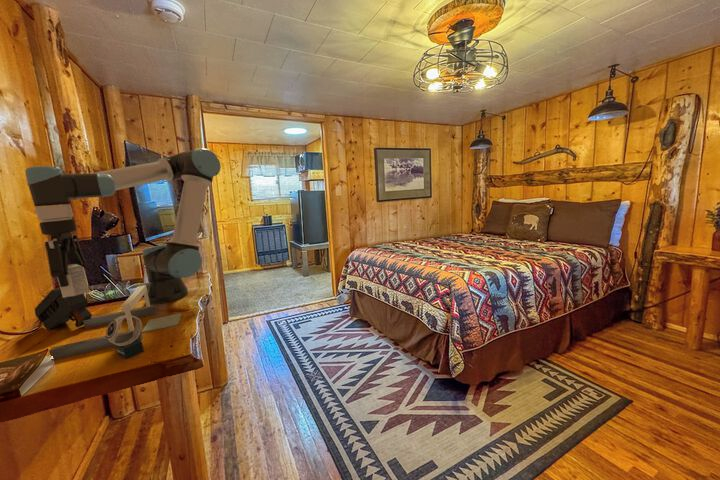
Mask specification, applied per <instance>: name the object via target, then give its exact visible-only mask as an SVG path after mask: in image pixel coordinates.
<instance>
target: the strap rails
mask: <svg viewBox="0 0 720 480" xmlns="http://www.w3.org/2000/svg"><path fill="white" fill-rule="evenodd" d="M130 313H131V315H132V316H135V317H137V318H139V319H140V318H144V317H149V316H153V315H158V308H157V305H156V304H153V305H150V306H149V307H146V306H144V307H137V308H132V310H130ZM123 315H125V312H123V311H122V310H121V311H117V312H113V313H112V312H111V313H107V314H102V315H97V316H91V318H88V319H86V320H84V321H83V323H84V325H83V327H84V329H90V328H95V327H100V326H104V325H109V323H110V322H111V321H112V320H115V319H116V318H117V317H120V316H123ZM133 319H134V320H136V319H135V318H133V317H132V320H133ZM124 321H127V319H126V318H124V319H123V322H124ZM142 331H143V330H141V333H140V335H139V337H138V338H137V340H140V341H142V340H143V338H144V335H143V333H142ZM133 333H134V331H130V332H129V330H126V331H122V332H120V333H119V335H118V336H117V337H116V340H115V341H114V342H115V343H120V342H123V341H125V340H128V339H130V338H132V337H133ZM113 347H115V344H113V343H111V342H110V341H109V340H108V339H107V338H106V335H103V336H100V337H94V338H90V339H86V340H85V339H84V340H80V341H76V342H71V343H67V344H61V345H57V346H53V347H52V348H50V349H49V350H48V352H49V353H48V354H49V356H50V355H51V356H53V358H54V359H56V360H60V359H64V358H68V357H73V356H77V355H82V354H86V353H91V352H94V351H99V350H103V349H108V348H113ZM51 356H50V357H51Z"/></svg>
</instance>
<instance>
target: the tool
mask: <svg viewBox="0 0 720 480" xmlns="http://www.w3.org/2000/svg"><path fill="white" fill-rule="evenodd" d="M88 305H89V303H88V299H87V297H85V295H84V294H80V295H76V296H69V297H63V296H62V293H61V289H60V287H57V288H54V289H51V290H50V291H49V292H48V294H47V295H46V296H44V297H43V299H42V300H41V301H40V302H39V304H37V305H36V307H34V315H35V317H36V318H37V319H38V320H39V322H40V323H42V325H43V327H44V328H45V329H46V330H49V331H50V330H52V329H55V328H56V327H60V326H62V325H64V324H67V323H68V322H69V321H71V322H75V323H74V326H75V327H76V328H80V327H82V326H84V323H83V321H84V320H86V319H88V318H91V317H93V315H92V313H91V312H90V311H89V310H88V308H86V306H88Z"/></svg>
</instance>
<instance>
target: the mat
mask: <svg viewBox="0 0 720 480" xmlns="http://www.w3.org/2000/svg"><path fill="white" fill-rule="evenodd" d="M182 315H183V314H182V313H176V314H175V313H174V314H171V315H167V316H162V317H156V318H151V319H148V321H147V323H146V325H145V326H144V328H143V330H142V334H143V333H147V332H151V331H156V330H161V329H165V328H170V327H174V326H178V325H179V323H180V320H181V318H182V317H181V316H182Z"/></svg>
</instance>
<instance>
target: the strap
mask: <svg viewBox="0 0 720 480" xmlns="http://www.w3.org/2000/svg"><path fill="white" fill-rule="evenodd" d="M149 289H150V288H149V282H143V283H139V285H138V287H137V288H136V289H135V290H134V292H132V294H131V295H130V296H129V297H128V298H127V299H126V300H125V301H124V302H123V303H122V304H121V306H120V307H121V309H122V310H121V311H123V312H125V315H131V313H130V310H132V309H134V307H135V306H136V305H137V303H139V301H140V300H141V298H143V297H144V298H143V299H144V301H145V307H149V306H151V303H150V302H149V297H148V292H147V291H148V290H149ZM126 319H127V320H126V323H127V328H128V331H129V332H130V331H134V330H135V326H134V322H133V319H132V317H128V318H126Z"/></svg>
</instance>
